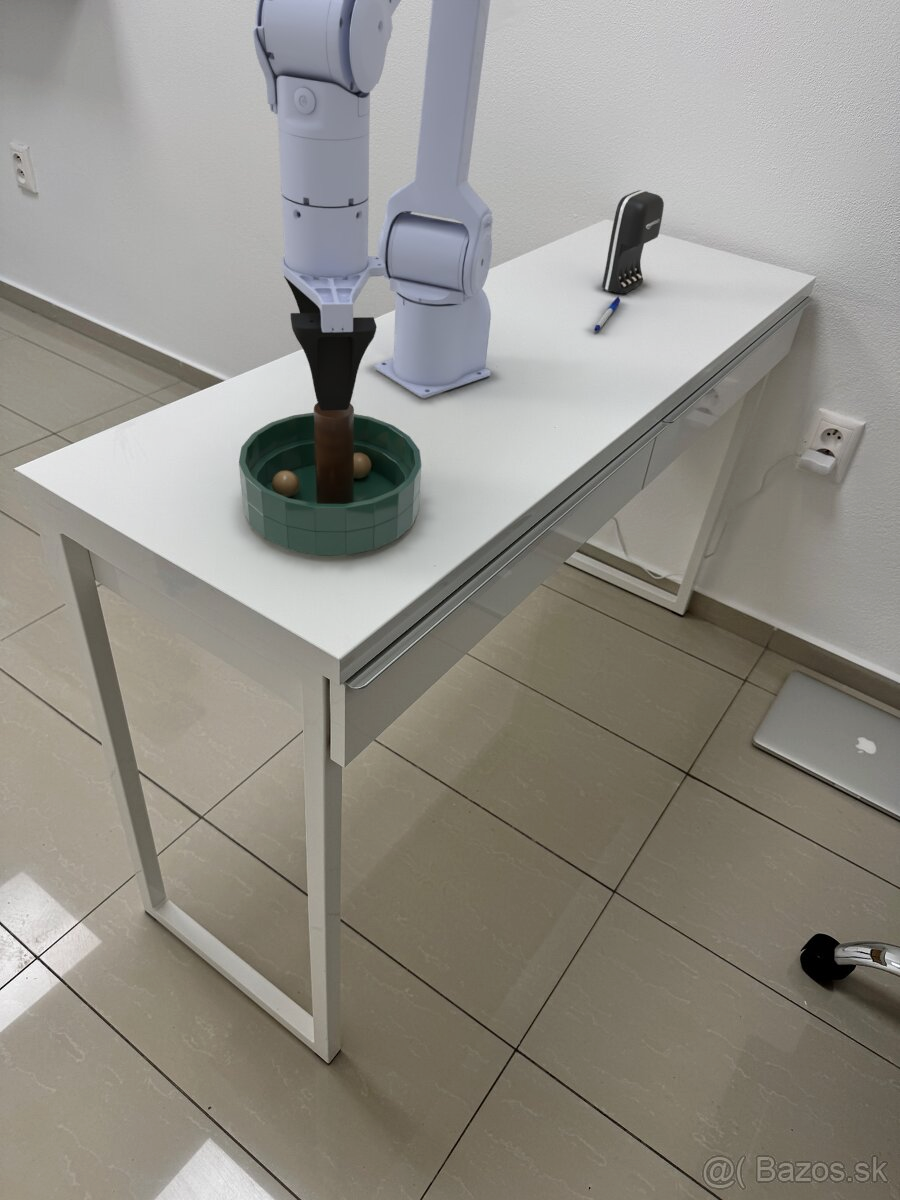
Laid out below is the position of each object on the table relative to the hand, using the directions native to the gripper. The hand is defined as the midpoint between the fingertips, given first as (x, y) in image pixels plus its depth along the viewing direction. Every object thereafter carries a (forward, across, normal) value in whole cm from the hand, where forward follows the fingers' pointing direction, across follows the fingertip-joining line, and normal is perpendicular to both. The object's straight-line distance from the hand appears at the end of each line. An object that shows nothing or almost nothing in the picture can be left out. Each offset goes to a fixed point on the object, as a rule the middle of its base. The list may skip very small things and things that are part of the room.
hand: (328, 383), depth 66 cm
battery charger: (+10, +44, -43) cm, 62 cm away
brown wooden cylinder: (+10, -2, 0) cm, 10 cm away
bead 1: (+8, -1, +4) cm, 9 cm away
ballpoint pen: (+10, +35, -37) cm, 51 cm away
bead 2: (+8, +2, -2) cm, 9 cm away
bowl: (+10, -2, 0) cm, 10 cm away
